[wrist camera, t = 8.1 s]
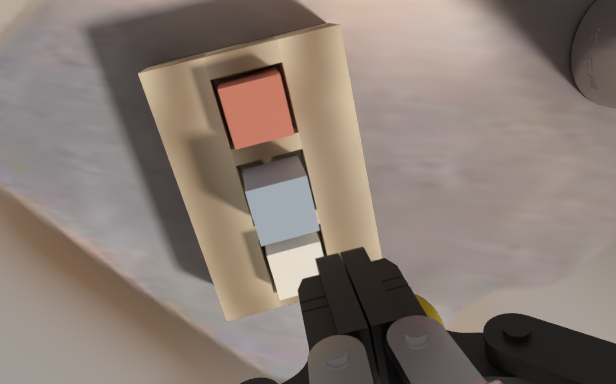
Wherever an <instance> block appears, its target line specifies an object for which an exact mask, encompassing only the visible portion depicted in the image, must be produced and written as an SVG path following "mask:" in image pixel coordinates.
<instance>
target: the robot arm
mask: <svg viewBox="0 0 616 384" xmlns="http://www.w3.org/2000/svg"><path fill="white" fill-rule="evenodd" d="M571 67H572V74H573V77H574V80H575V83H576V85H577V87H578V88H579V90H580V91H581V93H582V94H583V95H584V96H586V97H587V98H588V99H589V100H591V101H593V102H595V103H597V104H599V105H603V106H607V107H611V108H615V109H616V0H596V1H595V3H594V4H593V5H592V6H591V7H590V8H589V10H588V11H587V13H586V14H585V16H584V17H583V19H582V21H581V23H580V25H579V27H578V29H577V31H576V35H575V38H574V42H573V45H572V53H571ZM315 260H316V265H317V269H318V273H319V275H316V276H312V277H308V278H304V279H302V281H301V283H300V286H299V288H298V295H299V300H300V305H301V310H302V315H303V320H304V325H305V330H306V335H307V340H308V345H309V355H308V361H307V363H306V365H305V366H304V367H303V369H302V370H301V371H300V372H299V373H298V374H296V375H295V376H294V377H292V378H291V379H289V380H287V381H285V382H284V383H282V384H616V344H615V343H612V342H609V341H605V340H602V339H599V338H596V337H593V336H590V335H587V334H584V333H581V332H577V331H574V330H571V329H568V328H565V327H562V326H559V325H555V324H552V323H549V322H546V321H543V320H540V319H537V318H533V317H530V316H527V315H523V314H515V313H508V314H501V315H498V316H496V317H493V318H492V319H490V320H489V321H488V322H487V323H486V325H485V326H484V331H483V333H458V332H452V331H448V330H446V329H445V328H444V327H443V326H442V325H441V324H440V323H439V322H438V321H436V320H435V319H433V318H430V317H428V316H427V314H426V313H425V311H424V309H423V308H422V306H421V304H420V303H419V301H418V300H417V298H416V296H415V295H414V293H413V291H412V290H411V288H410V286H408V283H407V281H406V280H405V278H403V275H402V273H401V272H400V270H399V268H398V267H397V265H395V264H394V263H392V262H390V261H389V260H387V259H385V258H383V259H379V260H375V261H371V260H370V258H369V256H368V254H367V252H366V250H365V248H364V247H359V248H355V249H351V250H347V251H343V252H340V255H339V253H335V254H331V255H327V256H323V257H319V258H315ZM241 384H278V383H277V382H275V381H274V380H271V379H268V378H253V379H250V380H247V381H244V382H242V383H241Z"/></svg>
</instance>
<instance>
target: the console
mask: <svg viewBox="0 0 616 384" xmlns="http://www.w3.org/2000/svg"><path fill="white" fill-rule="evenodd" d="M270 67H275V68H276V69H277V71H278V72H279V73H280V75H281V80H282V84H283V88H284V92H285V96H286V101H287V105H288V109H289V113H290V117H291V122H292V126H293V130H294V134H295V135H291V136H287V137H283V138H279V139H275V140H272V141H268V142H264V143H260V144H256V145H252V146H248V147H244V148H240V149H237V150H235V147H234V143H233V140H232V137H231V133H230V130H229V127H228V123H227V120H226V116H225V113H224V110H223V106H222V103H221V100H220V96H219V93H218V85H219V80H221V79H225V78H229V77H233V76H237V75H241V74H245V73H249V72H253V71H257V70H262V69H266V68H270ZM138 75H139V78H140V81H141V83H142V86H143V89H144V92H145V95H146V97H147V100H148V103H149V106H150V109H151V111H152V114H153V117H154V120H155V122H156V125H157V128H158V131H159V134H160V136H161V139H162V142H163V145H164V147H165V150H166V153H167V156H168V159H169V161H170V164H171V167H172V170H173V172H174V175H175V178H176V181H177V184H178V186H179V189H180V192H181V195H182V198H183V200H184V203H185V206H186V209H187V211H188V214H189V217H190V220H191V223H192V225H193V228H194V231H195V234H196V236H197V239H198V242H199V245H200V248H201V250H202V253H203V256H204V259H205V261H206V264H207V267H208V270H209V273H210V275H211V278H212V281H213V284H214V287H215V289H216V292H217V295H218V298H219V300H220V303H221V306H222V309H223V312H224V314H225V317H226V320H227V322H228V321H231V320H235V319H238V318H242V317H245V316H249V315H253V314H256V313H260V312H263V311H267V310H271V309H274V308H278V307H281V306H285V305H288V304H292V303H296V302H299V301H300V300H299V295H298V296H294V297H291V298H287V299H283V300H280V299H279V296H278V292H277V289H276V286H275V282H274V279H273V275H272V272H271V269H270V265H269V262H268V258H267V254H266V247H265V246H261V244H260V241H259V237H258V234H257V231H256V227H255V224H254V221H253V217H252V214H251V211H250V207H249V204H248V201H247V197H246V194H245V186H244V171H243V169H247V168H251V167H255V166H258V165H262V164H266V163H270V162H274V161H278V160H281V159H285V158H289V157H293V156H297V155H298V157H299V159H300V162H301V164H302V166H303V168H304V170H305V173H306V175H307V178H308V182H309V187H310V191H311V195H312V199H313V204H314V208H315V212H316V216H317V221H318V225H319V229H320V231H317V235H318V237H319V240H320V243H321V247H322V252H323V256H327V255H331V254H335V253H339V255H340V252H343V251H347V250H351V249H355V248H359V247H364V248H365V250H366V252H367V254H368V256H369V258H370V260H371V261H375V260H379V259H382V256H381V250H380V244H379V239H378V233H377V228H376V222H375V217H374V211H373V206H372V200H371V194H370V189H369V183H368V178H367V172H366V167H365V161H364V155H363V150H362V144H361V139H360V133H359V128H358V122H357V117H356V111H355V105H354V100H353V94H352V89H351V83H350V78H349V72H348V66H347V61H346V55H345V50H344V44H343V39H342V33H341V28H340V24H331V23H325V24H321V25H317V26H313V27H309V28H305V29H300V30H296V31H292V32H288V33H284V34H280V35H276V36H272V37H268V38H263V39H259V40H255V41H251V42H247V43H243V44H239V45H235V46H230V47H226V48H222V49H218V50H214V51H210V52H206V53H202V54H198V55H193V56H189V57H185V58H181V59H177V60H173V61H169V62H165V63H160V64H156V65H152V66H149V67H148V68H146V69H144V70H143V71H141V72H140V73H138Z"/></svg>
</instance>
